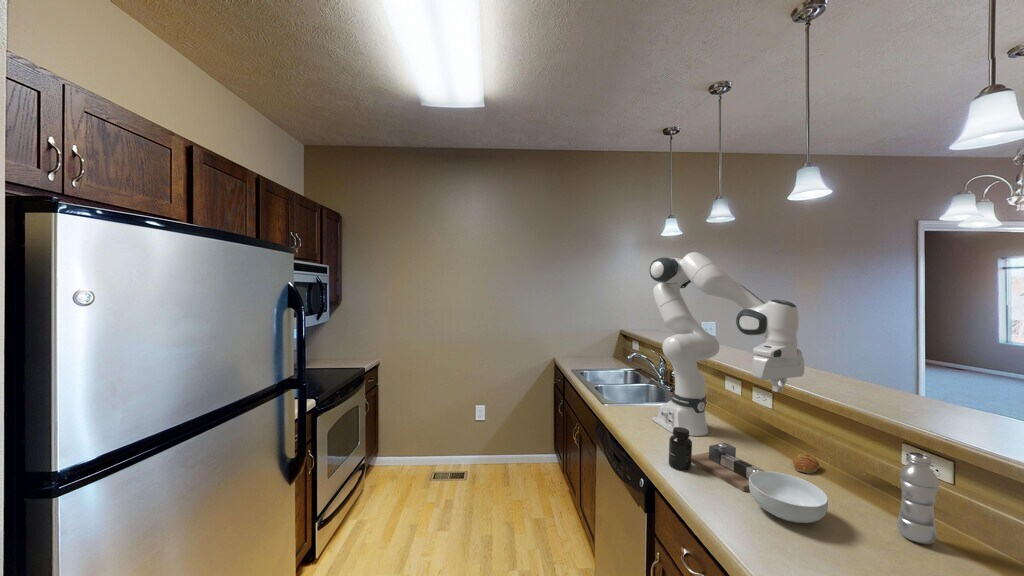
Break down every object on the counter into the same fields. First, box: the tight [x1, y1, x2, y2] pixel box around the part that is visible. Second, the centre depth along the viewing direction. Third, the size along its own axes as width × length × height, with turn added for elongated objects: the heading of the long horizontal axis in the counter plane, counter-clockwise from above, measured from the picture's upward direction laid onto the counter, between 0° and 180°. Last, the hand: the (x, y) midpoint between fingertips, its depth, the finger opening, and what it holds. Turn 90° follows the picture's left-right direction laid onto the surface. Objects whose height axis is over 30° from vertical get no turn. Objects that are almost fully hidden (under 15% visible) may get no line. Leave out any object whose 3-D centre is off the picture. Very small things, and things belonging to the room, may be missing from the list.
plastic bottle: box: [896, 451, 940, 546], centre depth 91 cm, size 6×7×20 cm
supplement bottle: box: [668, 427, 693, 471], centre depth 125 cm, size 7×7×12 cm
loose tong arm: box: [724, 454, 761, 472], centre depth 119 cm, size 12×1×3 cm, turn 22°
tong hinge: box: [708, 442, 737, 465], centre depth 127 cm, size 4×7×5 cm, turn 112°
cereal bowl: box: [749, 470, 829, 524], centre depth 100 cm, size 17×17×7 cm
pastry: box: [792, 453, 821, 475], centre depth 125 cm, size 9×7×4 cm
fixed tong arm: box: [721, 455, 757, 479], centre depth 118 cm, size 12×1×3 cm, turn 22°
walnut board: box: [691, 451, 765, 492], centre depth 123 cm, size 20×15×2 cm
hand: (777, 391), depth 128 cm, fingers closed
